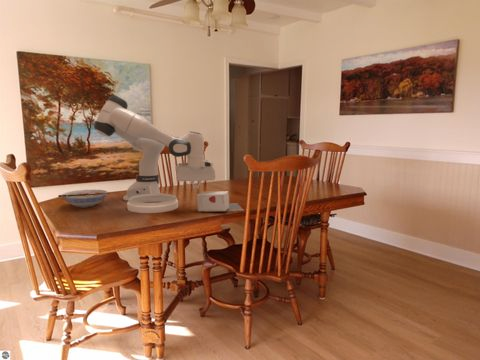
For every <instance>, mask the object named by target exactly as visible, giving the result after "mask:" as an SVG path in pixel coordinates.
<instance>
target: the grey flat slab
mask: <svg viewBox="0 0 480 360" xmlns="http://www.w3.org/2000/svg"><path fill="white" fill-rule="evenodd" d="M243 211H245V210H244V209H243V208H242V206H241V205H240V204H239V203H238V202H236V203H235V202H234V203H229V208H228V209H227V210H226V211H204V212H205V213H222V212H223V213H224V212H243Z"/></svg>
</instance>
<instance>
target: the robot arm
mask: <svg viewBox="0 0 480 360" xmlns="http://www.w3.org/2000/svg"><path fill="white" fill-rule="evenodd" d="M128 105H129V104H128V102H127V101H126V100H125V99H124V98H123V97H122V96H119V95H115V94H114V95H111V96H109V97H108V99H107V100H106V102H105V104H104V105H103V106H102V108H101V109H100V112H99V114H98V116H97V119H96V120H95V121H94V124H93V128H94V130H95V131H96V132H97V133H98V134H99V135H101V136H104V137H111V136H113V135H114V134H115V135H117V136H118V137H120V138H122V139H123V140H125V141H126V142H128V143H129V144H130V145H131V147H132V148H133V150H135V151H137V152H141V153H143V154H142V158H141V159H140V160H139V163H138V173H139V174H136V176H135V181H134V182H133V183H132V184H131V185H130V186H128V188H127V189H126V194H125V195H123V197H122V199H123V200H124V201H129V198H130V197H132V196H136V195H141V194H153V193H161V191H160V176H159V160H160V159H159V158H160V155H161V153H162V152H163V150H164V149H165V147H167V148H168V151H169V154H171V156H173V157H175V158H181V157H183V156H185V157H186V160H187V161H186V162H185V163H177V164H176V166H175V171H176V181H177V182H190V183H191V185H192V188H193V190H200V185H201V184H202V182H203V181H204V182H206V181H207V182H208V181H209V182H210V181H215V180H216V172H215V171H216V170H215V168H214V167H213V166H214V164H213V162H212V161H210V160H207V159H205V154H204V152H205V140H204V136H203V134H202V133H200V132H196V131H188V132H187V133H186V134H183V135H181V136H173V135H171V134H169V133H167V132H165V131H163V130H161V129H160V128H158V127H157V126H155V125H154V124H153V123H151V122H150V121H149V120H147V118H145V117H143V116H142V115H140V114H138V113H136V112H134V111H132V110H129V109H128V107H129V106H128ZM195 182H197V183H198V184H197V185H195V184H194V183H195Z"/></svg>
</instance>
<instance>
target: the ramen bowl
mask: <svg viewBox="0 0 480 360" xmlns="http://www.w3.org/2000/svg"><path fill="white" fill-rule="evenodd" d="M108 194H111V193H110V192H108V191H107V190H103V189H79V190H77V189H76V190H72V191H68V192H64V193H62V194H59V195H57V196H58V198H64V199H65V200H66V202H67V203H68V204H70V205H72V206H73V207H78V208H79V209H80V208H84V209H85V208H92V207H94V206H96V205H98V204H100V203H101V202H102V201H104V199H105V198H106V196H107V195H108Z"/></svg>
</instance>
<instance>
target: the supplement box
mask: <svg viewBox="0 0 480 360" xmlns="http://www.w3.org/2000/svg"><path fill="white" fill-rule="evenodd" d="M229 195H230V194H229V191H228V190H227V191H226V190H225V191H222V190H220V191H201V192H199V193H197V194H196V201H197V202H196V203H197V212H205V211H226V210H227V209H228V208H229V204H230V198H229V197H230V196H229Z"/></svg>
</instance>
